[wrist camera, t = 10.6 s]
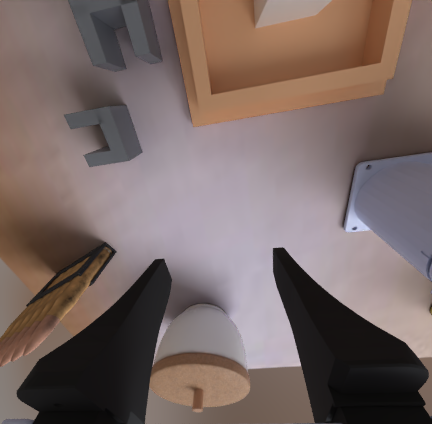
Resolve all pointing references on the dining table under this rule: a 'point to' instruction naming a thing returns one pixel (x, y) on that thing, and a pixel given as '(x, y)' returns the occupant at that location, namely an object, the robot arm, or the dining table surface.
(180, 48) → the wooden tray
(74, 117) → the clip
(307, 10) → the plain white rectangular block
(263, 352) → the dining table surface
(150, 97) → the dining table surface
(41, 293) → the ammunition clip
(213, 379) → the lidded bowl
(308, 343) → the robot arm
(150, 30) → the clip
